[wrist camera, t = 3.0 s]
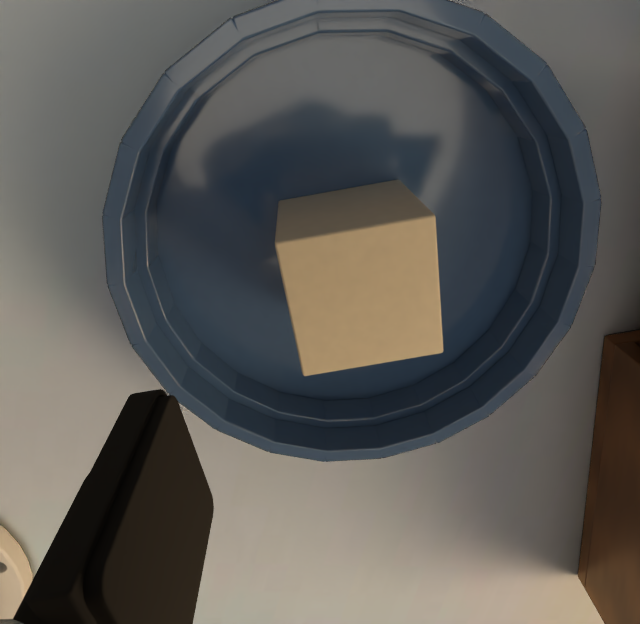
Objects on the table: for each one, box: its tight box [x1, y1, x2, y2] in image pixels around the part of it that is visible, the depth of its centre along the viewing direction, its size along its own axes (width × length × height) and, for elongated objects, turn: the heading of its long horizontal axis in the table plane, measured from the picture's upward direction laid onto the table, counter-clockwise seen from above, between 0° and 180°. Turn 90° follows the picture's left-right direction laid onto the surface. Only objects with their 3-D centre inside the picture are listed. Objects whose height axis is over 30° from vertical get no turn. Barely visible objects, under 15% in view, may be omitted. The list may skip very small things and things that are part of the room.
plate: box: [102, 0, 601, 462], centre depth 18 cm, size 16×16×3 cm
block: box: [275, 180, 443, 376], centre depth 17 cm, size 4×4×5 cm
